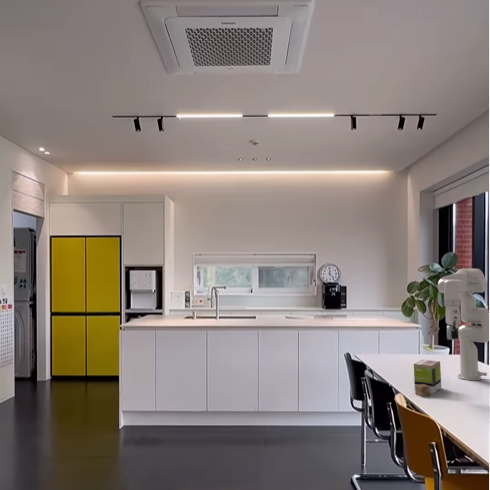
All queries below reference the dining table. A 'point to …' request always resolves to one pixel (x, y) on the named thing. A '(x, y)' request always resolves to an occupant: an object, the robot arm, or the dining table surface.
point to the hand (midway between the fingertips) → (452, 337)
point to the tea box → (428, 374)
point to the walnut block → (422, 390)
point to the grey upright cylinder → (449, 334)
